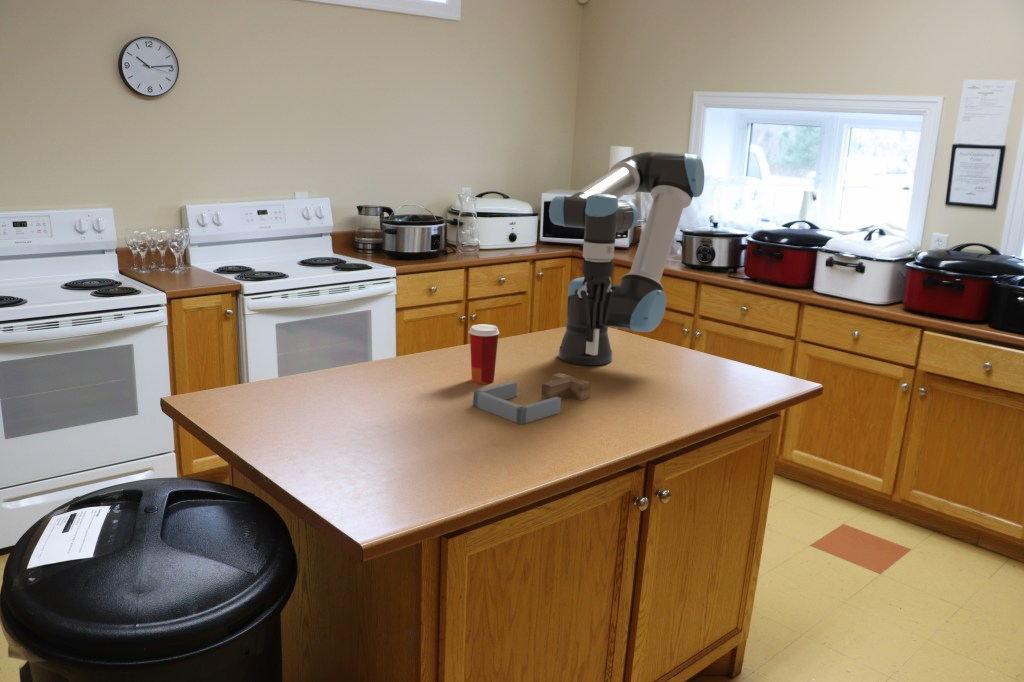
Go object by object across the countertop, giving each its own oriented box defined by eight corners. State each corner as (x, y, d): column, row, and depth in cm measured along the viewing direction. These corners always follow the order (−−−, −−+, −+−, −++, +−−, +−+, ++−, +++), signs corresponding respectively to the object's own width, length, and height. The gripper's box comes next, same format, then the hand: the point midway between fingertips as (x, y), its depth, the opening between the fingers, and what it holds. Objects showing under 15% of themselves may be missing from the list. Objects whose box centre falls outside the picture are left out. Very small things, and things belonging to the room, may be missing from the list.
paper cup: (499, 377, 218) (501, 324, 214) (495, 386, 211) (497, 331, 207) (469, 375, 219) (470, 322, 215) (464, 384, 211) (466, 329, 208)
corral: (473, 405, 196) (473, 391, 195) (512, 395, 204) (512, 381, 203) (521, 424, 185) (521, 409, 184) (560, 412, 193) (560, 398, 192)
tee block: (589, 398, 204) (590, 382, 203) (561, 406, 198) (561, 390, 197) (559, 387, 211) (560, 372, 210) (531, 395, 205) (531, 379, 204)
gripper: (592, 263, 196) (585, 361, 202) (627, 259, 205) (620, 353, 211) (568, 259, 202) (562, 354, 207) (603, 255, 211) (597, 347, 216)
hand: (591, 353), depth 209 cm, fingers closed
